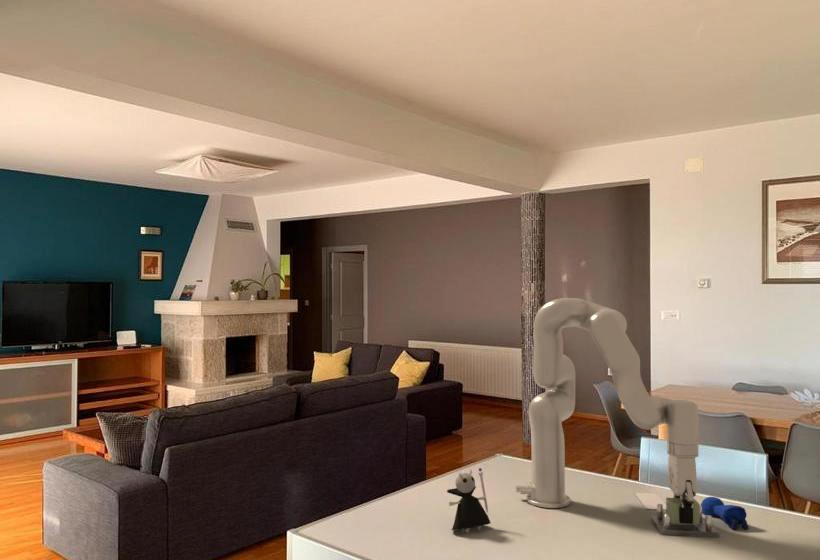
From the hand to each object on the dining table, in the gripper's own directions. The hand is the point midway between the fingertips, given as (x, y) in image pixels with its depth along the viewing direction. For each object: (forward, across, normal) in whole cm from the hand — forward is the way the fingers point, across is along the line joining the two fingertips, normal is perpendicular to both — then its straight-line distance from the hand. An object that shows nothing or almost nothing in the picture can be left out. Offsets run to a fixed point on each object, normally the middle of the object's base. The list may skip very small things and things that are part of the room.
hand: (683, 518), depth 163 cm
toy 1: (+3, +7, -55) cm, 55 cm away
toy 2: (+3, -8, +12) cm, 15 cm away
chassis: (+2, 0, 0) cm, 2 cm away
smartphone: (+3, -21, -3) cm, 21 cm away
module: (0, 0, 0) cm, 0 cm away
